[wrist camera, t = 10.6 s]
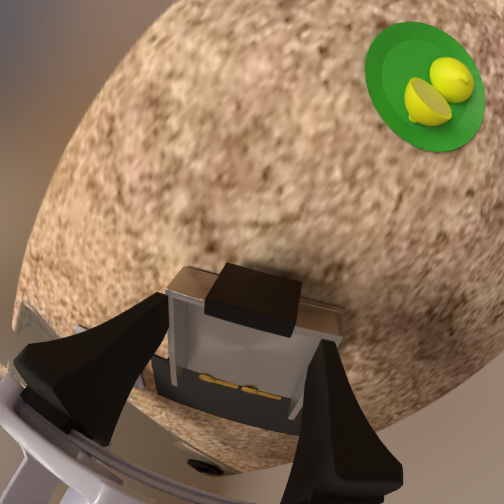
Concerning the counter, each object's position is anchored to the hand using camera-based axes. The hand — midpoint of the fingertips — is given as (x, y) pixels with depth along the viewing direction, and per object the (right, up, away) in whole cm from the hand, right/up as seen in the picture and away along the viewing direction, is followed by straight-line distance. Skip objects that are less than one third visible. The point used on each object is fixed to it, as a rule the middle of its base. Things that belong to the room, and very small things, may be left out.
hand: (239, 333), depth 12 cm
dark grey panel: (-1, -14, +17) cm, 22 cm away
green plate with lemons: (+11, +13, -1) cm, 17 cm away
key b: (+2, -10, +13) cm, 17 cm away
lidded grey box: (0, -3, +10) cm, 11 cm away
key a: (-3, -9, +14) cm, 17 cm away
